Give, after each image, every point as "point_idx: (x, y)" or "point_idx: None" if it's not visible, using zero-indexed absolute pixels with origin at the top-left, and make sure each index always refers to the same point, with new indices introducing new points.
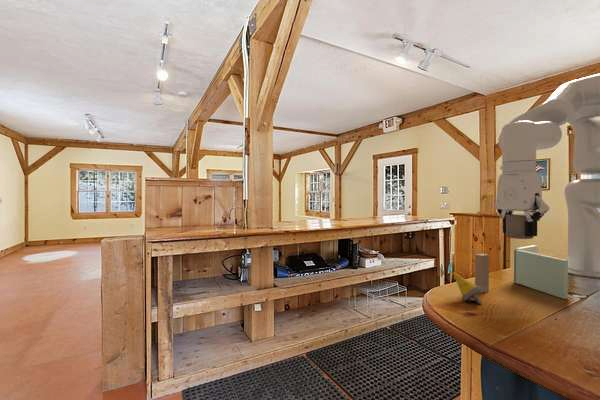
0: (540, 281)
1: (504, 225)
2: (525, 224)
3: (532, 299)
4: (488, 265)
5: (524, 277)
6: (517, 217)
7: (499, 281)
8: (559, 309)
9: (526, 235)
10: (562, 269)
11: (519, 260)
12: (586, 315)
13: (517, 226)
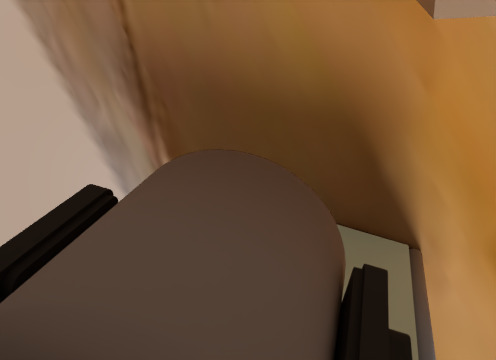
0: None
1: (359, 322)
2: (22, 251)
3: (243, 78)
4: (425, 6)
5: (360, 253)
6: (23, 296)
7: (475, 214)
8: (136, 52)
9: (95, 187)
10: None
11: (390, 318)
12: (76, 74)
13: (112, 216)
